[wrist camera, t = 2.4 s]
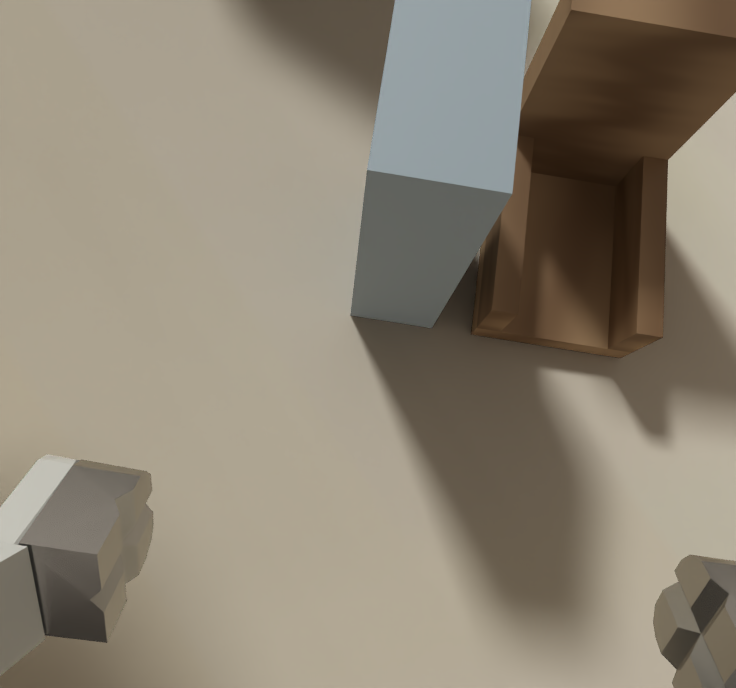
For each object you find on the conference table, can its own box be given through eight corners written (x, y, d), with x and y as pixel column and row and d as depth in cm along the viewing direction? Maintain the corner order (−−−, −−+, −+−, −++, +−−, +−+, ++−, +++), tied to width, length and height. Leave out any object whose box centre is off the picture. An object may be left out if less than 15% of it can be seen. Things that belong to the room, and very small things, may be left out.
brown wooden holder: (470, 334, 26) (553, 238, 17) (491, 148, 29) (574, -31, 19) (620, 357, 26) (787, 276, 17) (628, 171, 29) (780, 5, 19)
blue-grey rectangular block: (350, 315, 26) (367, 169, 15) (370, 189, 28) (400, -35, 16) (431, 328, 26) (512, 194, 15) (447, 201, 28) (532, -12, 16)
